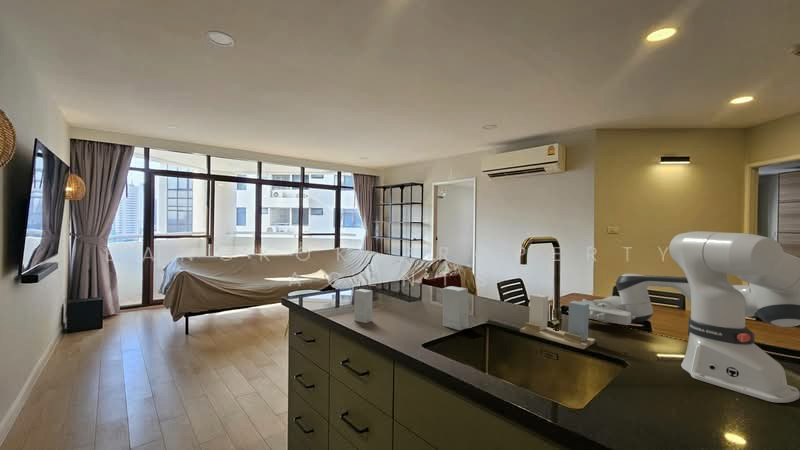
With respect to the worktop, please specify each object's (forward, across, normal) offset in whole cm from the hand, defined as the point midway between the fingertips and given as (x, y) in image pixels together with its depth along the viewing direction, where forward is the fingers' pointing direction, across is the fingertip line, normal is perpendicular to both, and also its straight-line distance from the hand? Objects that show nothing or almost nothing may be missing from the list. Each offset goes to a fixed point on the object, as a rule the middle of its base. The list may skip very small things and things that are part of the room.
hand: (593, 317), depth 128 cm
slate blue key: (+15, 0, -5) cm, 16 cm away
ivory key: (+15, +14, -4) cm, 21 cm away
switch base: (+15, +7, -6) cm, 18 cm away
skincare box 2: (+35, +36, -6) cm, 51 cm away
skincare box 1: (+58, +64, -6) cm, 86 cm away
